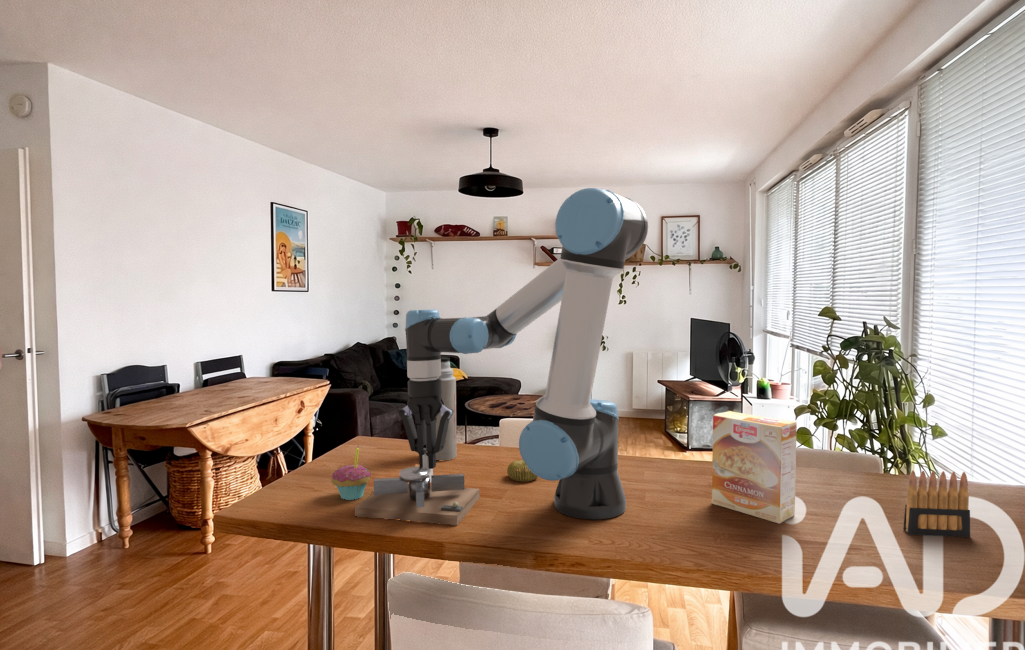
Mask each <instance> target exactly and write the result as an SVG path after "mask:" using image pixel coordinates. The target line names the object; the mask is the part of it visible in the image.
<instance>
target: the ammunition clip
mask: <svg viewBox="0 0 1025 650" xmlns="http://www.w3.org/2000/svg"><path fill="white" fill-rule="evenodd" d="M937 483H938V484H937ZM927 484H928V485H927ZM947 484H949V485H947ZM917 485H918V486H917ZM937 485H938V486H937ZM968 486H969V484H968V477H967V474H966V472H965V471H963V472H962V473H961V475H960V480H959V489H958V479H957V475H956V472H955V471H952V472H951V474H950V477H949V483H948V482H947V476H946V472H945V471H944V470H943V471H941V473H940V476H939V480H938V481H937V476H936V473H935V471H934V470H932V471H931V473H930V475H929V479H928V483H927V476H926V472H925V470H922V471H921V472H920V476H919V480H918V484H917V475H916V472H915V471H914V470H912V471H911V472H910V474H909V479H908V489H907V491H906V493H907V494H906V504H905V507H904V518H903V528H902V530H903V531H904V532H905V533H907V534H908V535H910V536H931V537H951V538H952V537H953V538H955V537H956V538H971V510H970V509H969V502H970V501H969V499H970V498H969V495H970V494H969V487H968ZM917 487H918V488H917Z"/></svg>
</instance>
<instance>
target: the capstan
mask: <svg viewBox="0 0 1025 650" xmlns="http://www.w3.org/2000/svg"><path fill="white" fill-rule="evenodd" d="M408 484H409V497H410V498H412V499H416V507H424V499H425V498H428V497H429V496H430V485H431V490H432V492H434V491H450V490H464V488H465V474H464V473H455V474H454V473H450V474H437V475H436V474H433V475H432V476H431V483H430V476H429V475H428V470H427V469H426V468H422V467H420V466H419V463H418V464H416V463H415V466H411V467H406V468H402V469H400V470H399V477H398V476H397V477H384V478H383V477H382V478H373V490H374V495H386V494H402V493H408Z"/></svg>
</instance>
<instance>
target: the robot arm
mask: <svg viewBox="0 0 1025 650" xmlns="http://www.w3.org/2000/svg"><path fill="white" fill-rule="evenodd" d="M554 223H555V224H554V228H555V233H556V237H557V239H558V240H559V242H560V244H561V245H562V246H561V253H560V257H558V259H557V260H555V261H554V262H553V263H552V264H550V265H549V266H548V267H547V268H545V269H544V270H543V271H542V272H540V273H539V274H538V275H536V276H535V277H534V278H533V279H531V280H529V282H528V283H526V284H525V285H524V286H523V287H521V288H520V289H519V290H518V291H516V292H515V293H514V294H512V295H510V297H509V298H507V299H506V300H504V301H503V302H502V303H501V304H500V305H498V306H497V307H495V309H493V311H491V312H489V313H488V314H487V315H485V316H472V317H471V316H468V317H466V316H465V317H450V318H449V317H448V318H441V317H440V312H439V310H437V309H412V310H408V311H407V312H406V314H405V328H404V331H405V341H406V342H405V343H406V370H407V372H406V374H407V378H408V379H409V380H408V381H407V395H408V401H407V402H406V404H407V405H406V406H404V407H403V408H400V409H398V412H397V413H398V415H399V416H400V418H401V420H402V423H403V426H404V429H405V433H406V437H407V441H408V444H409V448H410V451H411V452H415V453H418V458H419V459H418V461H419V463H418V464H419V466H420V467H422V468H426V469H427V470H428V475H429V476H430V484H431V476H432V475H434V469H435V468H436V466H437V461H436V453H438V452H439V451H441V450H443V448H444V444H445V439H446V434H447V429H448V425H449V420H450V418H451V416H452V414H453V413H454V411H453V409H448V408H447V407H445V406H444V402H443V400H442V380H441V379H440V378H439V377H440V376H441V356H442V355H441V353H450V354H451V353H452V354H462V355H469V354H478V353H481V352H483V350H488V349H489V350H490V349H501V348H503V347H506V346H509V345H511V344H512V343H514V341H515V339H516V337H517V335H518V333H519V332H521V331H522V330H523V329H525V328H527V327H528V326H529V325H531V324H532V323H533V322H534V321H537V319H539V318H540V317H542V316H543V315H544V314H546V313H547V312H548V311H550V310H551V309H552V308H554V307H555V306H556V305H558V304H560V305H559V306H560V308H559V313H558V317H557V318H558V319H557V326H556V330H555V336H554V342H553V348H552V355H551V359H550V365H549V371H548V377H547V384H546V389H545V394H544V395H542V396H541V397H539V398H538V399H536V400H535V405H534V413H533V418H532V420H531V421H530V422H529V423H527V424H526V425H525V427H524V428H523V429H522V431H521V433H520V435H519V438H518V447H519V449H518V450H519V454H520V457H521V460H523V461H525V463H526V465H527V467H528V469H529V471H531V472H532V473H534V474H535V475H536V476H538V477H537V478H540V479H543V480H546V481H550V482H551V481H552V482H554V481H558V482H557V485H556V486H557V487H556V488H555V493H554V497H553V499H554V501H553V503H554V505H553V506H554V508H555V510H557V511H558V512H559V513H561V514H562V515H565V516H569V517H572V518H577V519H582V520H583V519H585V520H605V519H610V518H615V517H618V516H620V515H622V514H624V513H625V511H626V509H627V497H626V494H625V491H624V488H623V485H622V481H621V478H620V474H619V472H618V469H619V467H618V466H619V465H618V463H619V462H618V459H619V458H618V457H619V421H620V420H619V419H620V417H619V413H618V410H619V409H618V406H617V403H615V402H613V401H610V400H609V401H608V400H602V399H595V398H594V399H593V398H592V392H593V388H594V383H595V382H594V381H595V376H596V370H597V365H598V361H599V356H600V350H601V345H602V339H603V334H604V333H603V332H604V329H605V328H604V327H605V322H606V318H607V313H608V306H609V301H610V296H611V290H612V285H613V279H614V278H615V276H617V275H618V274H620V273H622V272H623V271H624V267H625V262H626V260H628V259H629V258H630V257H632V256H633V255H635V254H637V251H639V250H640V249H641V247H642V246H643V244H644V243H645V241H646V239H647V236H648V232H649V231H648V230H649V221H648V217H647V215H646V212H645V211H644V209H643V208H642V206H641V205H640V204H639V203H637V202H636V201H634V200H633V199H631V198H630V197H629V198H628V197H625V196H622V195H620V194H617V193H614V192H613V191H611V190H609V189H604V188H596V187H587V188H582V189H580V190H577V191H575V192H574V193H572V194H571V195H570V196H568V197H567V198H566V199H565V200H564V201H563V202H562V203H561V206H560V207H559V209H558V210H557V214H556V217H555V222H554ZM440 411H441V416H442V417H441V420H440V424H439V429H438V433H437V438H436V422H437V416H438V414H439V413H440ZM413 417H414V418H413ZM414 422H415V423H414Z"/></svg>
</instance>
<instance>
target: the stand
mask: <svg viewBox="0 0 1025 650" xmlns="http://www.w3.org/2000/svg"><path fill="white" fill-rule="evenodd" d="M371 493H372V494H371V495H369V496H368V497H367V498H365V499H363V500H362V501H361V502H359V503H358V504H357V505H356V506H354V517H355V516H357V517H356V518H365V517H368V519H376V518H386V519H385V520H388V519H400V520H410V521H420V522H419V523H422V522H430V523H429V524H433V523H440V524H439V525H445V524H451V525H450V526H456V525H457V526H458V525H459V524H460V523H461V521H462V520H463V519H464V518H465V516H467V514H468V513H469V511H471V510H472V508H473V506H474V505H475V504H476V503H477V501H478V500H479V499H480V493H481V492H480V488H475V487H474V488H471V487H464V490H450V491H434V492H432V490H431V484H430V496H429V497H428V498H425V499H424V507H416V499H412V498H410V497H409V483H408V493H402V494H386V495H374V489H373V490H372V491H371ZM369 517H370V518H369ZM410 521H409V522H410ZM459 522H460V523H459Z"/></svg>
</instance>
